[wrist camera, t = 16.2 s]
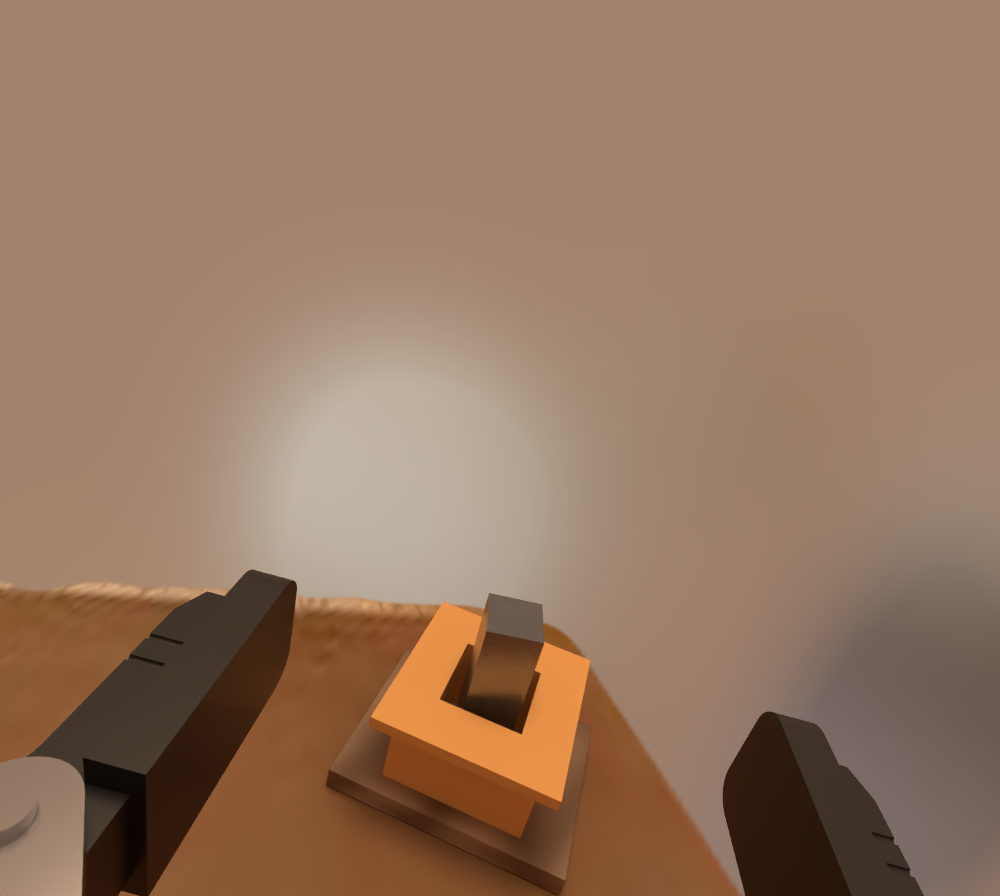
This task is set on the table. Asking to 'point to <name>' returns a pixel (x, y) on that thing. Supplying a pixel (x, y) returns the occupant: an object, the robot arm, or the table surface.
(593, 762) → the table surface
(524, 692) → the dark grey rectangular block
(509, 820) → the orange square collar
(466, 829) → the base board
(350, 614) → the table surface
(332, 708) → the table surface
